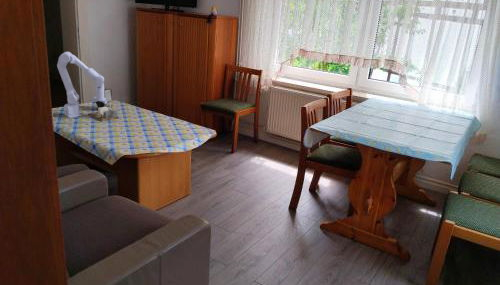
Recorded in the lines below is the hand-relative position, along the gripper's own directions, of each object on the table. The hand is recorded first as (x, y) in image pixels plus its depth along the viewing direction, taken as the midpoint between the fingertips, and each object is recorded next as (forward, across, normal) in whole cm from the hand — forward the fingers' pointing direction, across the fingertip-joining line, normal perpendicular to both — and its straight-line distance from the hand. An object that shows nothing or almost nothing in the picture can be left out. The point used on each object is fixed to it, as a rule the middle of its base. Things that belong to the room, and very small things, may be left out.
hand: (100, 111), depth 279 cm
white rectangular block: (+2, -3, +1) cm, 4 cm away
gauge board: (+3, -3, 0) cm, 5 cm away
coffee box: (+4, +14, -12) cm, 19 cm away
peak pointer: (+2, -8, +5) cm, 10 cm away
